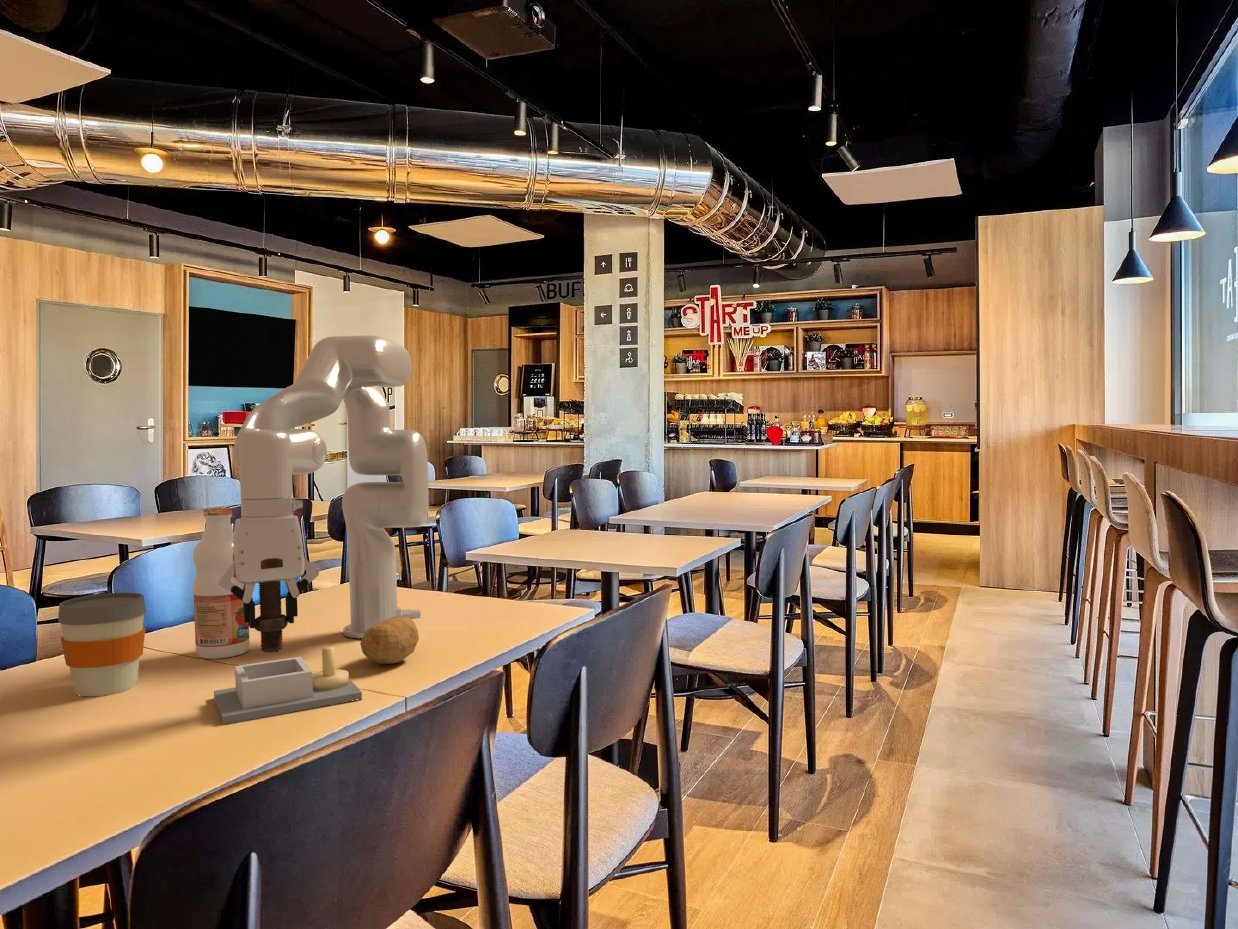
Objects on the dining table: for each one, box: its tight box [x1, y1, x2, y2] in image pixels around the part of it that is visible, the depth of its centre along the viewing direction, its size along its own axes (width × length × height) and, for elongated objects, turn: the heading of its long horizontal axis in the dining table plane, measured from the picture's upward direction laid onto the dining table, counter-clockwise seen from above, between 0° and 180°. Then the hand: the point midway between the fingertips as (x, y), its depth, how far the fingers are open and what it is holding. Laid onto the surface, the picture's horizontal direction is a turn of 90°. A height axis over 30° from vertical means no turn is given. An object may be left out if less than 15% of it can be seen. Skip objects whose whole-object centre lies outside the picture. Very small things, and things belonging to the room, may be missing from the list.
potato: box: [359, 616, 420, 665], centre depth 153 cm, size 10×14×8 cm
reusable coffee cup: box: [57, 592, 147, 698], centre depth 139 cm, size 13×12×15 cm
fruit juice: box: [192, 507, 251, 660], centre depth 160 cm, size 9×9×28 cm
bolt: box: [253, 558, 289, 654], centre depth 131 cm, size 6×5×15 cm
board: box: [213, 646, 363, 725], centre depth 133 cm, size 20×14×7 cm
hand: (271, 623), depth 131 cm, fingers closed on bolt, 5 cm apart
